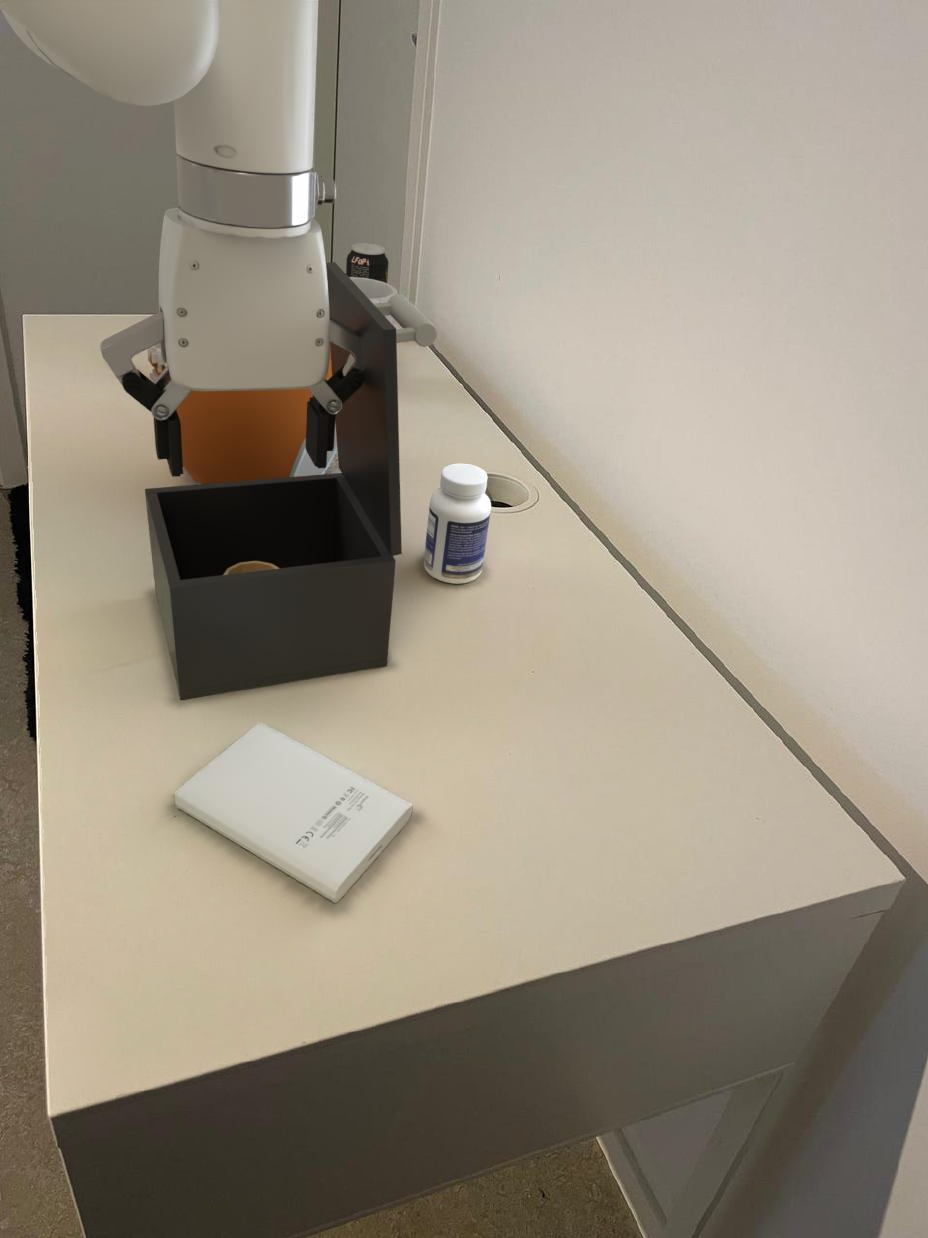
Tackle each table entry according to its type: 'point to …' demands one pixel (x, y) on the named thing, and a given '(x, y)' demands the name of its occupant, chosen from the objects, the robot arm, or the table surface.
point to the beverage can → (367, 262)
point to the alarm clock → (247, 435)
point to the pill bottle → (458, 525)
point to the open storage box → (268, 582)
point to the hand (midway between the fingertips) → (247, 463)
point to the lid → (373, 399)
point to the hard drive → (295, 809)
